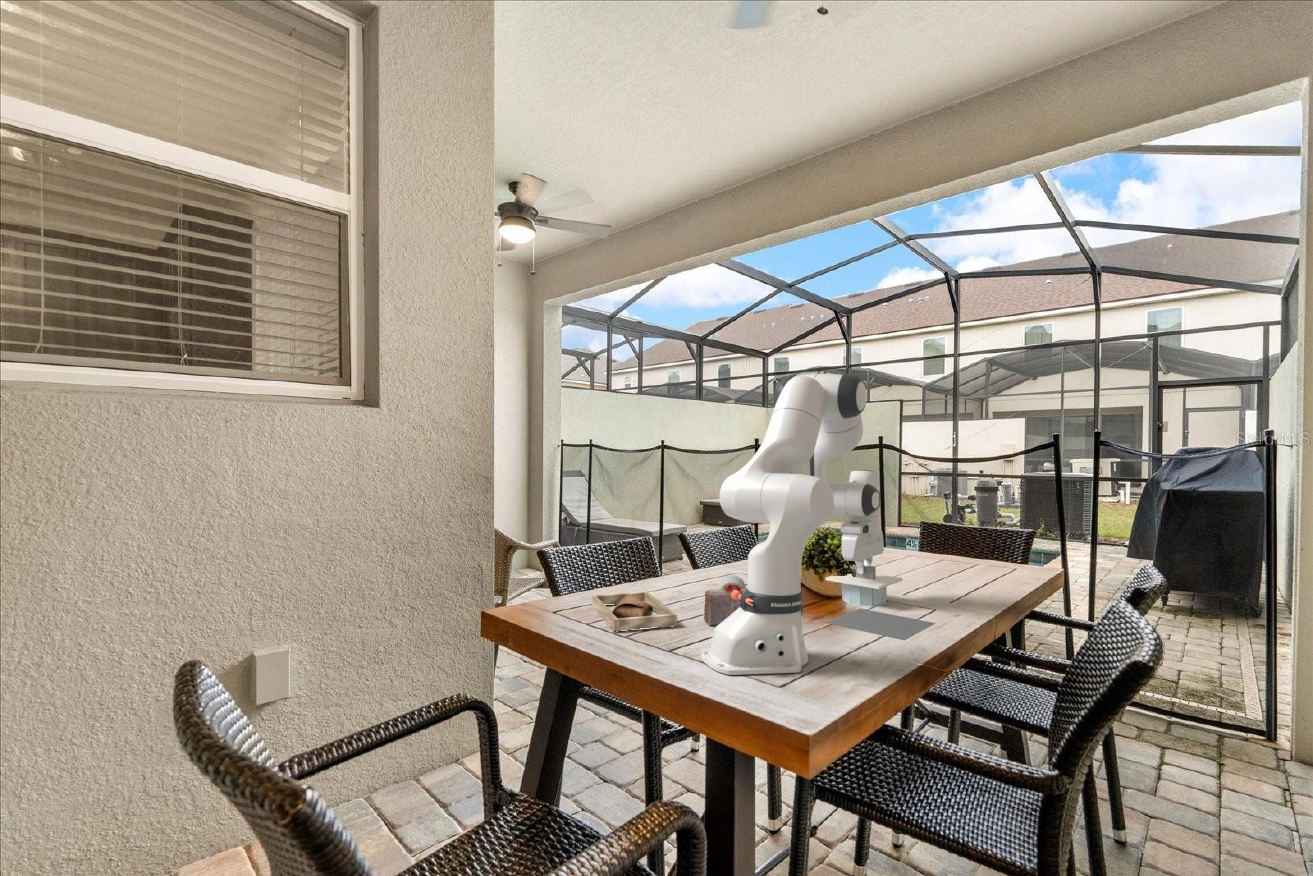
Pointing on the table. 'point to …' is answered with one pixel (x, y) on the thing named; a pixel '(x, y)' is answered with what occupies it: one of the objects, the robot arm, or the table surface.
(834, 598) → the table surface
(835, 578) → the cream board with block
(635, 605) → the sunglasses case
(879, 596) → the bowl
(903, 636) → the mat
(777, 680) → the table surface
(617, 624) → the case frame
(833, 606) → the table surface
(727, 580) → the ceramic mug
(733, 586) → the food item
